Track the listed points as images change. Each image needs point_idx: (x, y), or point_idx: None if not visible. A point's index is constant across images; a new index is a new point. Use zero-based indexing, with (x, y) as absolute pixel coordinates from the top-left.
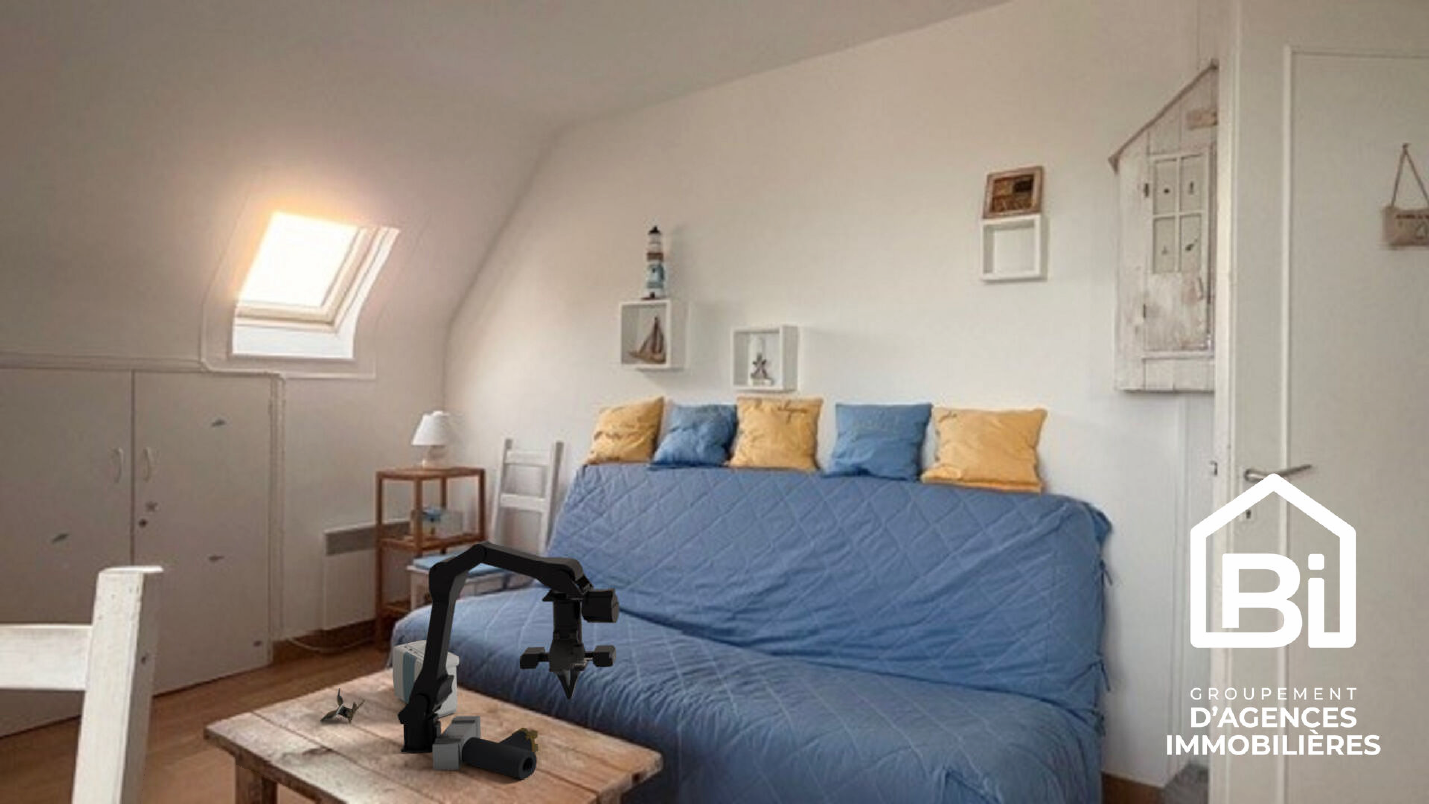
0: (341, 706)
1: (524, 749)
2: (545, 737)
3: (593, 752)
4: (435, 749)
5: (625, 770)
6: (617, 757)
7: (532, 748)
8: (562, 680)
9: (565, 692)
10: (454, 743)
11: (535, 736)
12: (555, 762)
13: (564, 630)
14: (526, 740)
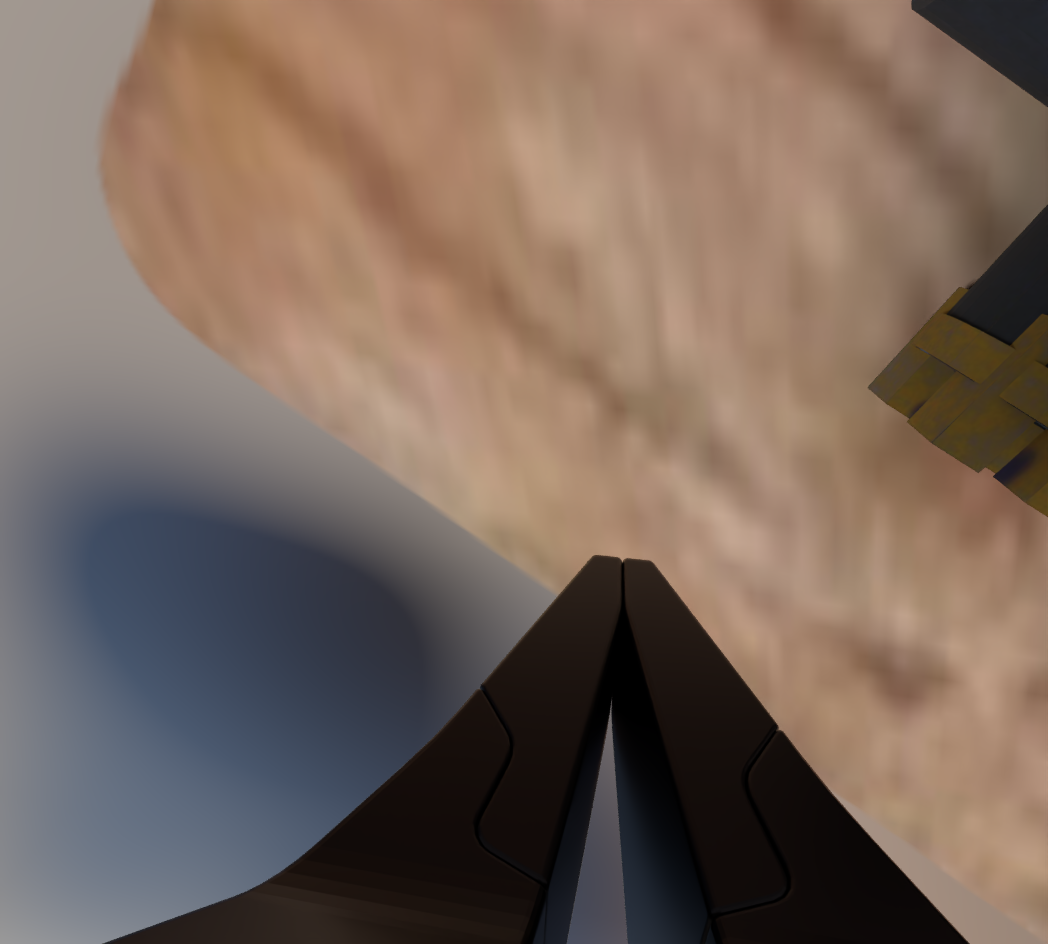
0: None
1: (1037, 240)
2: (809, 584)
3: (479, 344)
4: None
5: (197, 27)
6: (310, 254)
7: (938, 319)
8: (784, 824)
9: (684, 621)
10: None
11: (935, 409)
12: (729, 204)
13: None
14: (1042, 309)
